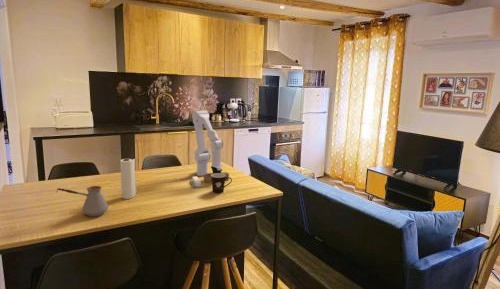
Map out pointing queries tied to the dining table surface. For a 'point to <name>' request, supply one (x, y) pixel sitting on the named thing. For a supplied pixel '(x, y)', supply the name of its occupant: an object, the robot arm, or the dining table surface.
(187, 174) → the dining table surface
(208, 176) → the walnut bar
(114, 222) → the dining table surface
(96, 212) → the coffee pot
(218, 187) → the coffee mug
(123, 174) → the paper towel roll
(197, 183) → the ridge
